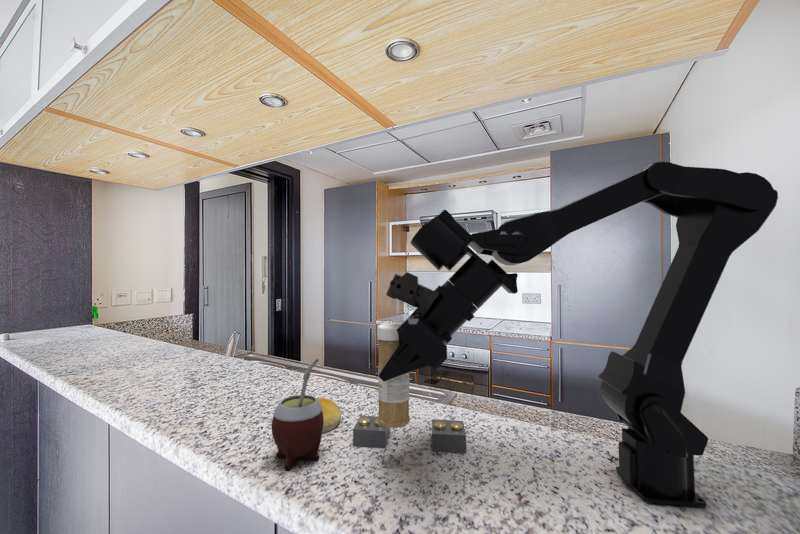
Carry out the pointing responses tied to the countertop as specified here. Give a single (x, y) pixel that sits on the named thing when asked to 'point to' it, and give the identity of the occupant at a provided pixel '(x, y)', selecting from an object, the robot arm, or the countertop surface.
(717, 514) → the countertop surface
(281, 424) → the mate gourd
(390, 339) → the sprinkles bottle
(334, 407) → the bread roll
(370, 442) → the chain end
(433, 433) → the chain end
